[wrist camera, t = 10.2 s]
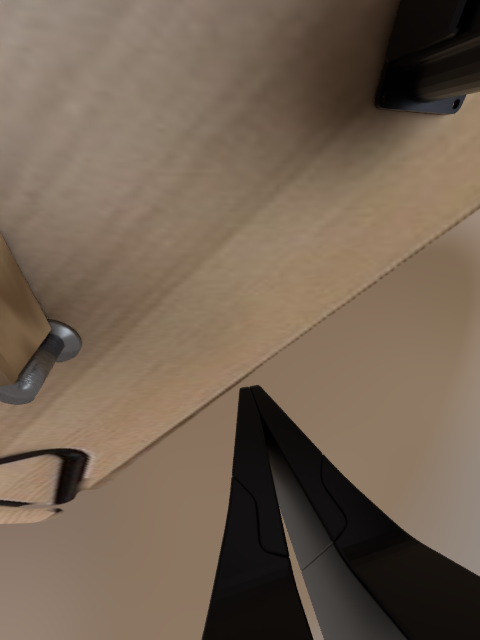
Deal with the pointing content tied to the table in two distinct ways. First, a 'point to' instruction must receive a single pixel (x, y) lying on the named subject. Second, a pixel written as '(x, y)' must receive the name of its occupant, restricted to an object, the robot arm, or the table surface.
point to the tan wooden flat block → (17, 319)
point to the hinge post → (42, 363)
